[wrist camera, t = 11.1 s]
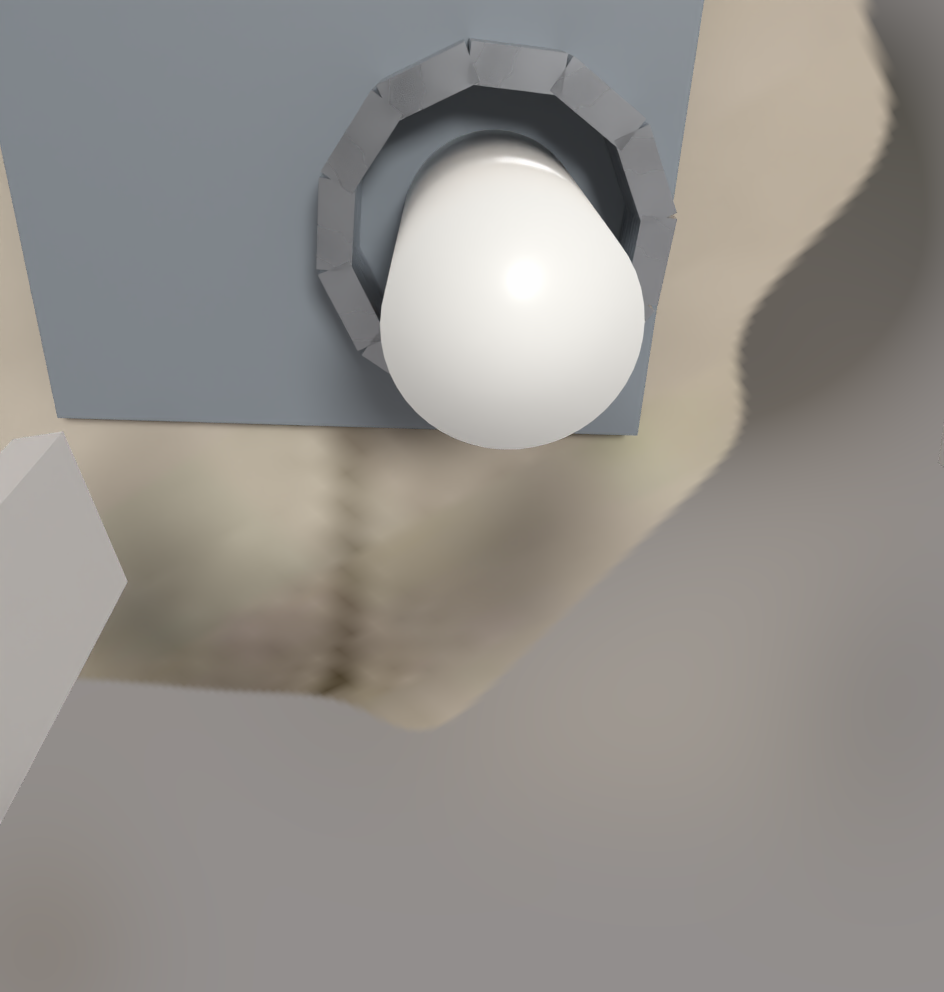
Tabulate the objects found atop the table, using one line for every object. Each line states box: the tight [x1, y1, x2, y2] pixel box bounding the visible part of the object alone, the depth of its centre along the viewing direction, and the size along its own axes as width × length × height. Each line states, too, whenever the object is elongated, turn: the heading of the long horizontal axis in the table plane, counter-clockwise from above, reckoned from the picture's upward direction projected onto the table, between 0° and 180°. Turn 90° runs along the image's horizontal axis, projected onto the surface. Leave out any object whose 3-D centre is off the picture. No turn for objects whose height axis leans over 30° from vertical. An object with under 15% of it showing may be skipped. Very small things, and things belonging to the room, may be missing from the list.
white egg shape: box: [380, 130, 645, 449], centre depth 22 cm, size 6×6×10 cm
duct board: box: [0, 0, 704, 435], centre depth 27 cm, size 20×14×1 cm
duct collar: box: [316, 38, 677, 374], centre depth 26 cm, size 10×10×2 cm
